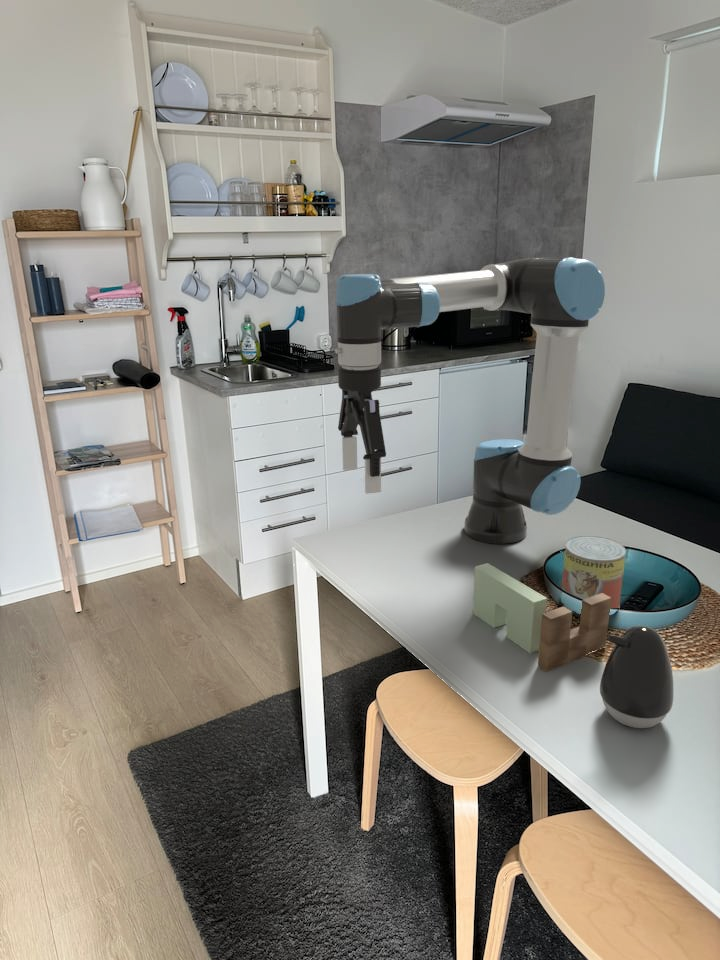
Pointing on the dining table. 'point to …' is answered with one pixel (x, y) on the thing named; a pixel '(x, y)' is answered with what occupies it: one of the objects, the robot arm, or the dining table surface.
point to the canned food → (594, 567)
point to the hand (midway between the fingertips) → (361, 480)
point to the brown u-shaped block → (573, 632)
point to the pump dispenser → (638, 678)
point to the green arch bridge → (509, 606)
